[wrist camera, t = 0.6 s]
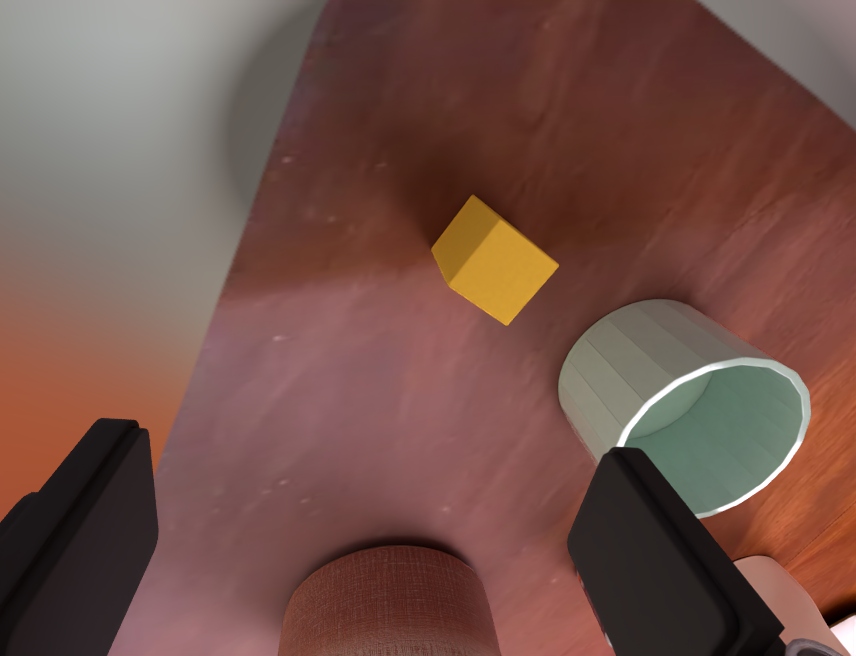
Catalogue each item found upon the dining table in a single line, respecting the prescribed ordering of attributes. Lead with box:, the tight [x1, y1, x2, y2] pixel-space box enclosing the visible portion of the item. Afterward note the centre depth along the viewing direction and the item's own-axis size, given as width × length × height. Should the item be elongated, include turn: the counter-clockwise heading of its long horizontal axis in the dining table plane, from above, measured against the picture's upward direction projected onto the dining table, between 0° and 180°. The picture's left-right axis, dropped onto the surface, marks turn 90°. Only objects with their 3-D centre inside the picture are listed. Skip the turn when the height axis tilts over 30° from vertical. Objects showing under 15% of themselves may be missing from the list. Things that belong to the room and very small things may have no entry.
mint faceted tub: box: [558, 299, 811, 519], centre depth 30 cm, size 12×12×8 cm
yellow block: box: [431, 195, 559, 326], centre depth 25 cm, size 4×4×6 cm
